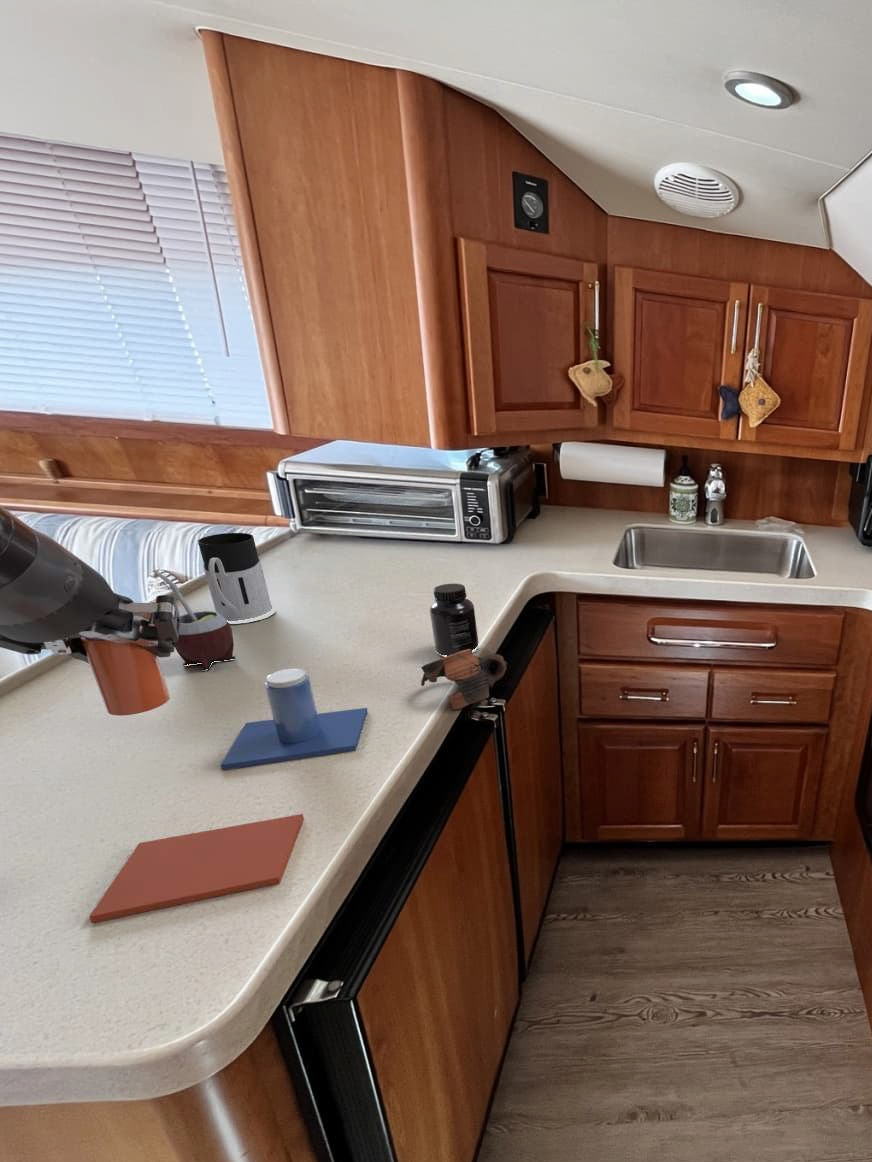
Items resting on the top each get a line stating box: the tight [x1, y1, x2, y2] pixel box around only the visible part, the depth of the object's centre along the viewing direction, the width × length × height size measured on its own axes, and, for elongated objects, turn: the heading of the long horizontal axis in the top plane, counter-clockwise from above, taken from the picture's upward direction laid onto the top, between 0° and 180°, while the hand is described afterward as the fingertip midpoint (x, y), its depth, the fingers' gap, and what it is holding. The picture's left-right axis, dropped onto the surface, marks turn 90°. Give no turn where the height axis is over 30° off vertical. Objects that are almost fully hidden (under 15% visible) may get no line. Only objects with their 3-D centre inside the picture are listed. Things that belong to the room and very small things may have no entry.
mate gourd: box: [152, 569, 236, 670], centre depth 99 cm, size 8×8×15 cm
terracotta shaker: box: [80, 626, 171, 717], centre depth 63 cm, size 5×5×9 cm
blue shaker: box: [264, 667, 321, 744], centre depth 84 cm, size 5×5×9 cm
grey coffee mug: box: [197, 532, 273, 621], centre depth 113 cm, size 9×14×15 cm, turn 25°
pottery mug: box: [420, 649, 508, 711], centre depth 99 cm, size 12×10×8 cm
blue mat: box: [220, 707, 369, 771], centre depth 86 cm, size 14×10×1 cm
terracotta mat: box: [89, 813, 305, 924], centre depth 65 cm, size 14×10×1 cm
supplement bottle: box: [429, 583, 479, 656], centre depth 110 cm, size 7×7×12 cm
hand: (132, 651), depth 65 cm, fingers closed on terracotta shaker, 4 cm apart
